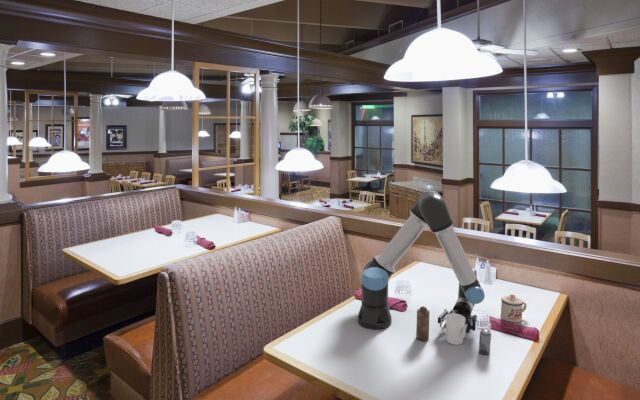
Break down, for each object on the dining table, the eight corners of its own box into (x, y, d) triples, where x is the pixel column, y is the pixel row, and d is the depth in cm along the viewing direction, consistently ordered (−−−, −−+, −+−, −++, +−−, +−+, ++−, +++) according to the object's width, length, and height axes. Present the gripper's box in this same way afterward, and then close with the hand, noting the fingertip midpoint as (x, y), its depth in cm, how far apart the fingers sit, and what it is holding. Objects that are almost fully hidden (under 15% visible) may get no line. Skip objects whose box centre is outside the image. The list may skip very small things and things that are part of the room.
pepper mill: (414, 339, 171) (415, 307, 169) (418, 334, 176) (418, 303, 173) (426, 342, 169) (427, 310, 167) (430, 336, 173) (431, 305, 171)
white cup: (465, 346, 166) (466, 323, 164) (445, 344, 167) (446, 321, 165) (463, 336, 173) (464, 314, 171) (443, 334, 175) (444, 312, 173)
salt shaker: (477, 353, 160) (479, 331, 159) (479, 348, 164) (480, 327, 162) (489, 356, 159) (490, 334, 157) (490, 351, 162) (491, 329, 160)
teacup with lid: (508, 324, 183) (510, 299, 181) (495, 315, 192) (497, 291, 189) (532, 321, 186) (534, 296, 183) (518, 312, 194) (520, 288, 192)
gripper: (486, 322, 181) (479, 347, 161) (439, 312, 190) (426, 335, 170) (488, 305, 179) (480, 329, 159) (439, 297, 189) (426, 317, 169)
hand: (452, 332), depth 165 cm, fingers closed on white cup, 8 cm apart
